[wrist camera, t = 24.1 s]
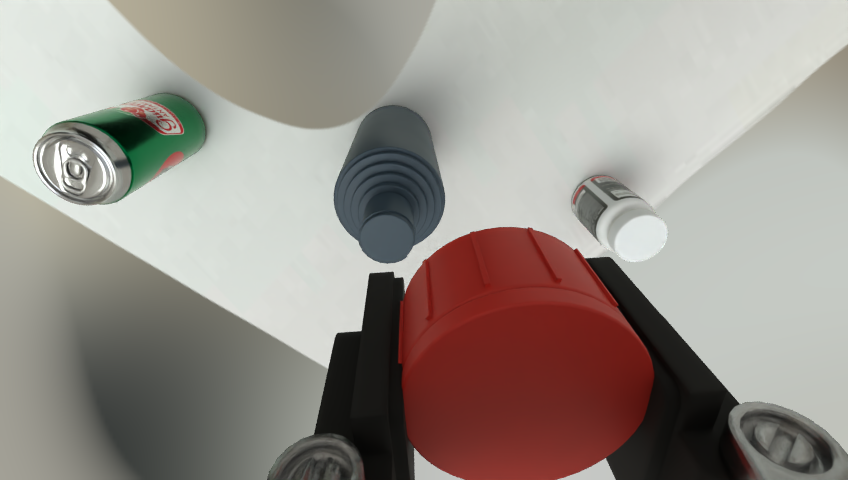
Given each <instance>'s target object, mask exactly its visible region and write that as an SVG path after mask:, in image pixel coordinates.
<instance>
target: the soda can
mask: <svg viewBox="0 0 848 480" xmlns="http://www.w3.org/2000/svg"><path fill="white" fill-rule="evenodd" d="M204 140H205V126H204V123H203V120H202V118H201V116H200V114H199V113H198V111H197V110H196V109H195V108H194V107H193V106H192V105H191V104H190V103H189V102H187V101H186V100H184V99H183V98H181V97H179V96H176V95H173V94H168V93H161V94H155V95H152V96H148V97H145V98H141V99H138V100H135V101H131V102H128V103H124V104H121V105H117V106H114V107H110V108H107V109H104V110H100V111H97V112H93V113H90V114H86V115H83V116H79V117H76V118H72V119H69V120H66V121H62V122H59V123H56V124H54V125H53V126H51V127H50V128H49V129H47V130H46V132H45V133H44V134H43V136H42V138H41V139H40V140H39V141H38V142H37V143H36V145H35V147H34V150H33V163H34V167H35V170H36V172H37V174H38V176H39V178H40V179H41V180H42V182H43V183H44V184H45V185H46V186H47V187H48V188H49V189H50V190H51V191H52V192H53V193H55V194H56V195H58V196H59V197H61V198H63V199H64V200H67V201H69V202H72V203H75V204H79V205H97V204H100V205H105V204H111V203H115V202H117V201H119V200H121V199H123V198H125V197H126V196H128V195H129V194H131V193H133V192H134V191H136V190H137V189H139V188H140V187H142V186H144V185H145V184H147V183H148V182H150V181H152V180H153V179H155V178H156V177H158V176H160V175H161V174H163V173H164V172H166V171H168V170H169V169H171V168H172V167H174V166H176V165H177V164H179V163H180V162H182V161H184V160H185V159H187V158H188V157H190V156H191V155H193V154H195V153H196V152H197V151H198V150H199V149H200V148H201V147H202V145H203V143H204Z"/></svg>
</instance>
